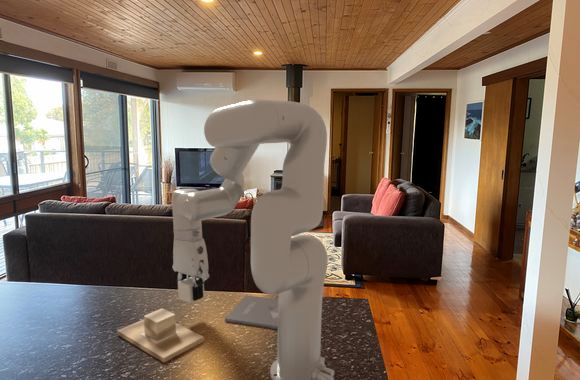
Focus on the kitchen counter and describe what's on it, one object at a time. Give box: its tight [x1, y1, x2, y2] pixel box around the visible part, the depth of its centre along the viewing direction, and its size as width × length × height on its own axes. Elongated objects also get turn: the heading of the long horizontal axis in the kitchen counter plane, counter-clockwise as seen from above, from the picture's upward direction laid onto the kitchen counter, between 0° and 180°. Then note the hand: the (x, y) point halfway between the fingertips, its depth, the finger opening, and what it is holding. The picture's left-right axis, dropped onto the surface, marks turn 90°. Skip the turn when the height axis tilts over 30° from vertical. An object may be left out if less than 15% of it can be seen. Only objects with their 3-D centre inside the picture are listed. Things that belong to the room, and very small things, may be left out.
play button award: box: [224, 294, 278, 330], centre depth 119 cm, size 16×2×20 cm
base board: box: [116, 318, 205, 364], centre depth 104 cm, size 20×12×1 cm, turn 53°
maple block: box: [143, 308, 176, 341], centre depth 104 cm, size 6×6×5 cm
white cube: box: [177, 276, 205, 304], centre depth 113 cm, size 5×5×5 cm
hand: (191, 295), depth 114 cm, fingers closed on white cube, 5 cm apart
